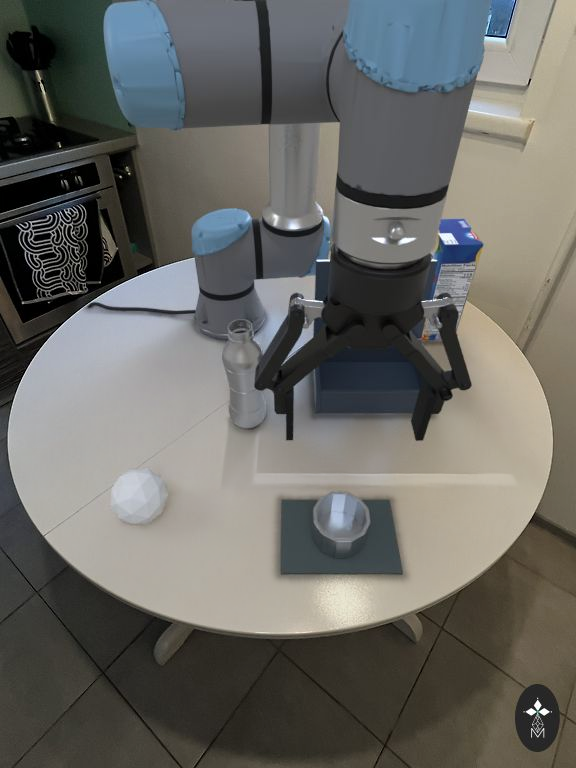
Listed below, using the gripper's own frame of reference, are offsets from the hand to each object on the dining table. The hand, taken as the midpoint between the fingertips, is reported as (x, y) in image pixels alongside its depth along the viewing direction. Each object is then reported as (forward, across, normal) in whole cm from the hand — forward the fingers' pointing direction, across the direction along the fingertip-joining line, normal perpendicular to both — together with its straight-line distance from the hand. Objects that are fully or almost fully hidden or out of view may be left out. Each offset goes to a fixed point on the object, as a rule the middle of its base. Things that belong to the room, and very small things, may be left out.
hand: (353, 431), depth 48 cm
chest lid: (+8, +8, +37) cm, 39 cm away
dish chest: (+22, +8, +30) cm, 38 cm away
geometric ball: (+22, -28, +4) cm, 36 cm away
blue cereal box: (+23, +24, +48) cm, 59 cm away
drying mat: (+22, 0, 0) cm, 22 cm away
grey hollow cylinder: (+22, 0, -1) cm, 22 cm away
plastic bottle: (+22, -14, +22) cm, 34 cm away
